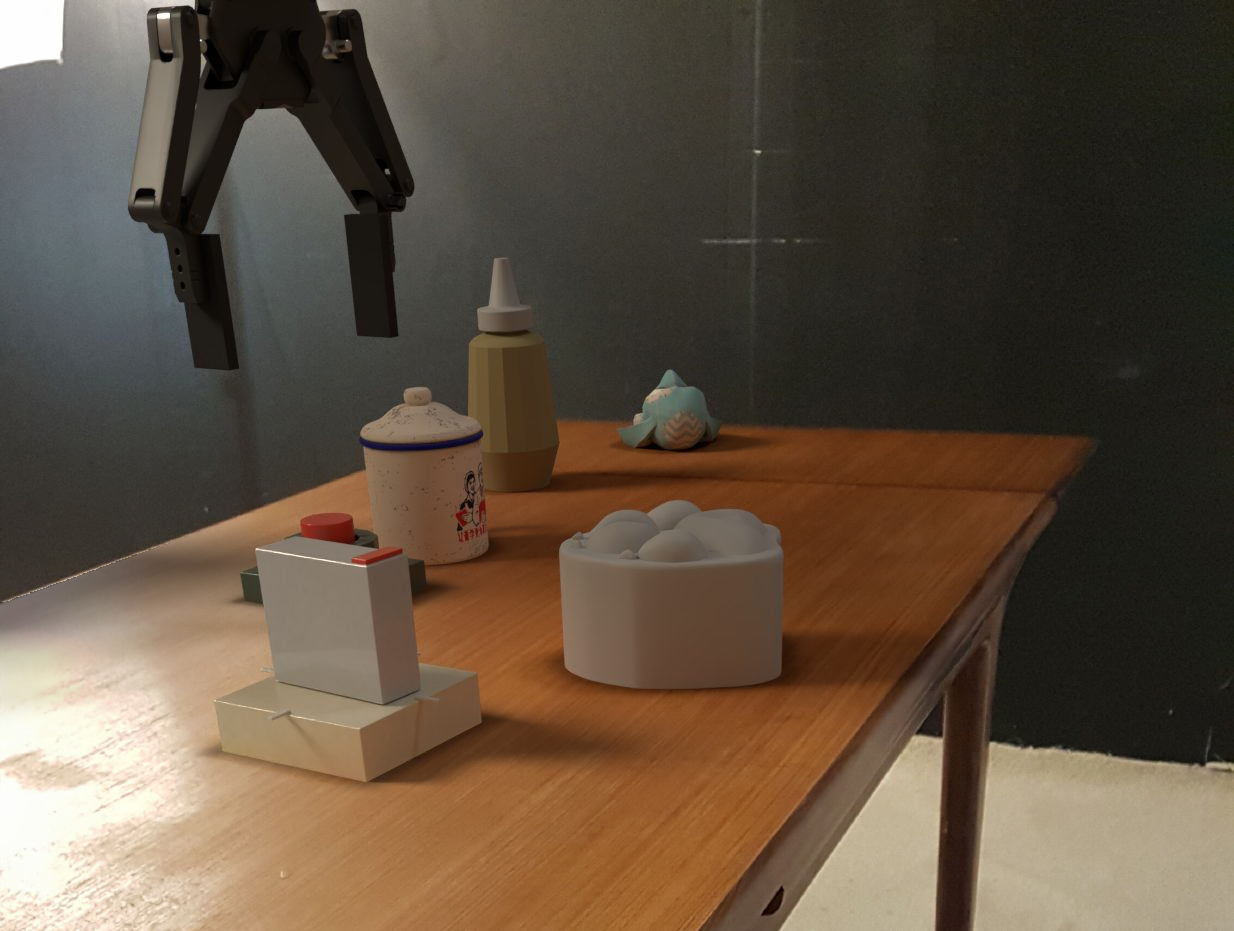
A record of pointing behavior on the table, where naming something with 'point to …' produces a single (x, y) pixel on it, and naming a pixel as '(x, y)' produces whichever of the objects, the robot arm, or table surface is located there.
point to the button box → (362, 539)
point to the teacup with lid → (426, 480)
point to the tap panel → (347, 723)
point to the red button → (329, 527)
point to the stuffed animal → (672, 418)
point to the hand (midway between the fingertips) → (301, 352)
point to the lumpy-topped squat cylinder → (674, 599)
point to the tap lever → (340, 618)
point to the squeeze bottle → (511, 392)
